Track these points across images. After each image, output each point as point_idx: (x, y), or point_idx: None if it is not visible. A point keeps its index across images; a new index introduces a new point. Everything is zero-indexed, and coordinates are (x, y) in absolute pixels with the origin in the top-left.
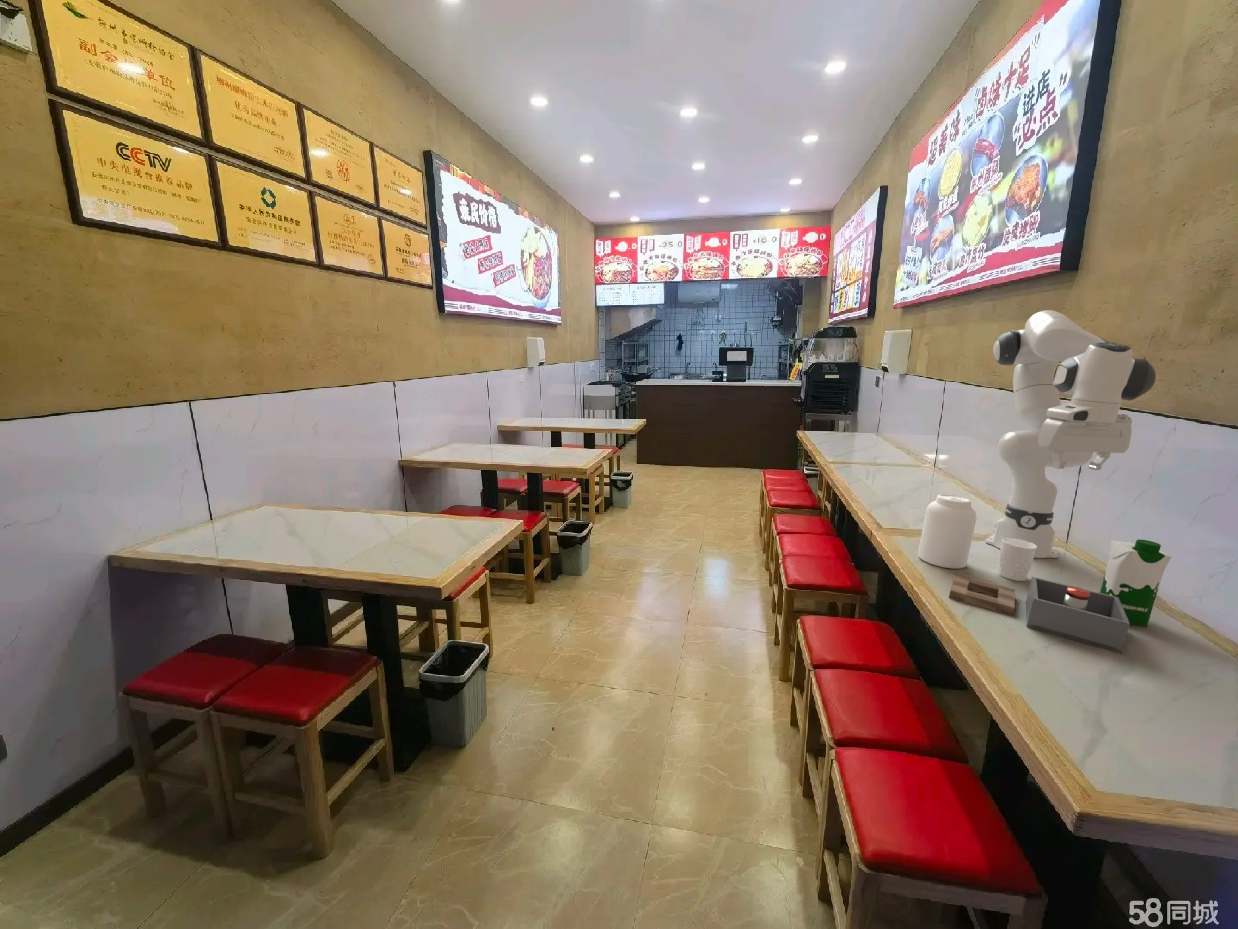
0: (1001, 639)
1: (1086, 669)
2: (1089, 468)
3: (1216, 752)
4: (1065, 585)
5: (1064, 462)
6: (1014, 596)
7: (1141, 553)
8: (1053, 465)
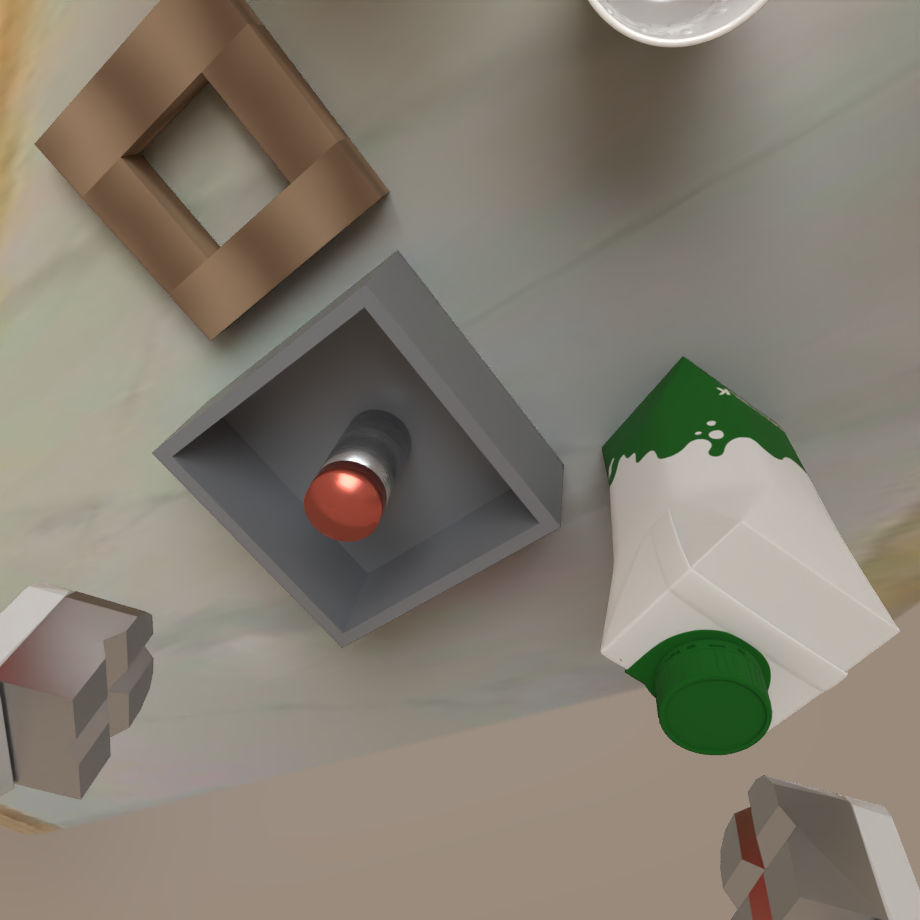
0: (51, 437)
1: (181, 593)
2: (755, 780)
3: (180, 788)
4: (439, 395)
5: (55, 789)
6: (307, 258)
7: (636, 679)
8: (21, 609)
